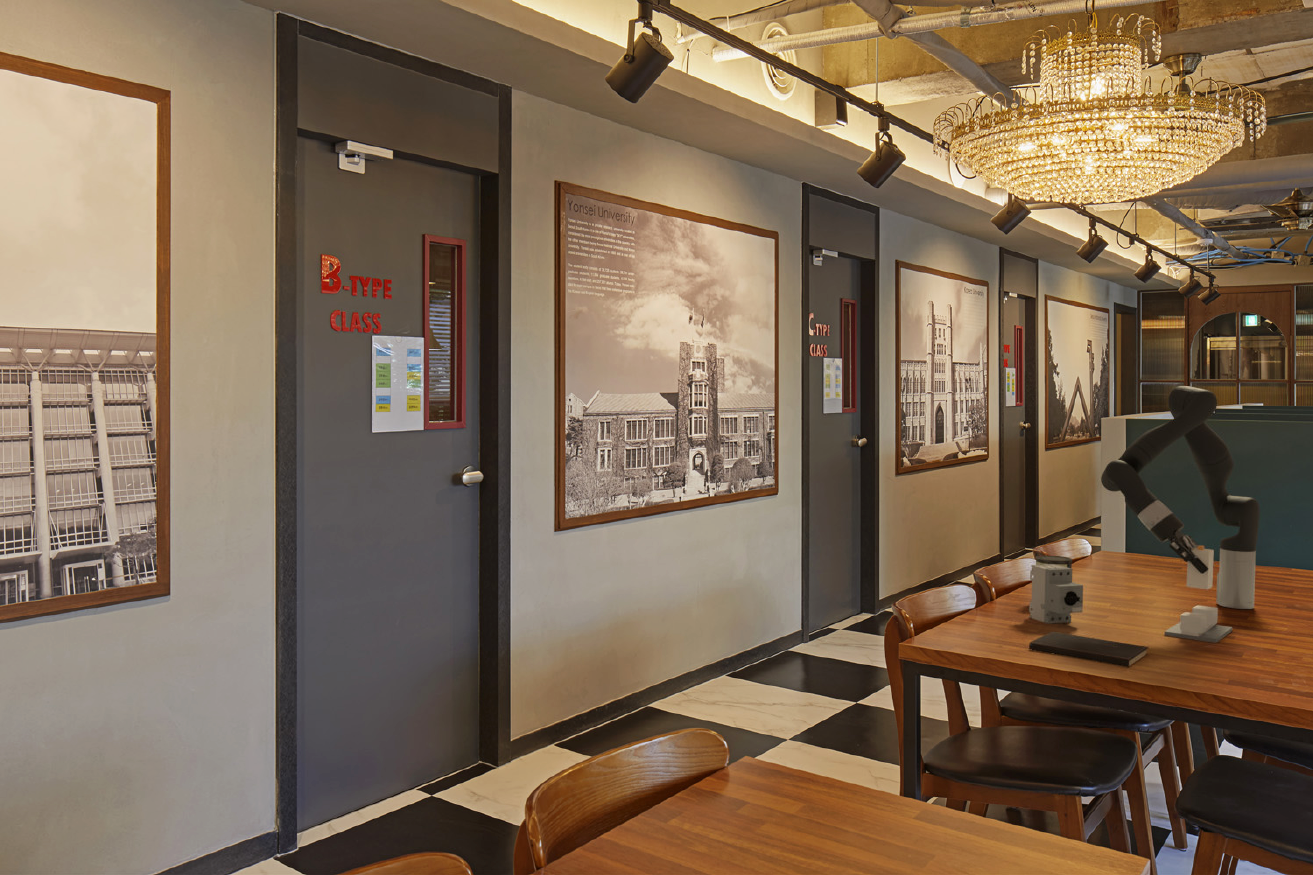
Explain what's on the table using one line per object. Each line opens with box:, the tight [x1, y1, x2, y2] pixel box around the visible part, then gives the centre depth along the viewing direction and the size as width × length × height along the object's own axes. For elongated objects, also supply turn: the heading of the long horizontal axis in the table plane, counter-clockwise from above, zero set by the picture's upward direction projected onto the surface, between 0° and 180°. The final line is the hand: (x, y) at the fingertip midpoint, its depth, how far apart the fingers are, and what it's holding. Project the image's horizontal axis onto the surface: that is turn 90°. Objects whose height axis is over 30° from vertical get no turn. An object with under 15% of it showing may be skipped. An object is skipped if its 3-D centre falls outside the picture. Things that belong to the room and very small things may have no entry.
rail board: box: [1164, 604, 1233, 644], centre depth 256 cm, size 18×12×6 cm, turn 138°
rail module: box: [1186, 544, 1215, 590], centre depth 256 cm, size 5×5×11 cm
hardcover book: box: [1028, 631, 1149, 668], centre depth 236 cm, size 16×23×2 cm
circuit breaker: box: [1028, 564, 1084, 625], centre depth 267 cm, size 8×14×15 cm, turn 15°
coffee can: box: [1035, 555, 1073, 570], centre depth 292 cm, size 10×10×14 cm
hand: (1208, 570), depth 255 cm, fingers closed on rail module, 5 cm apart
